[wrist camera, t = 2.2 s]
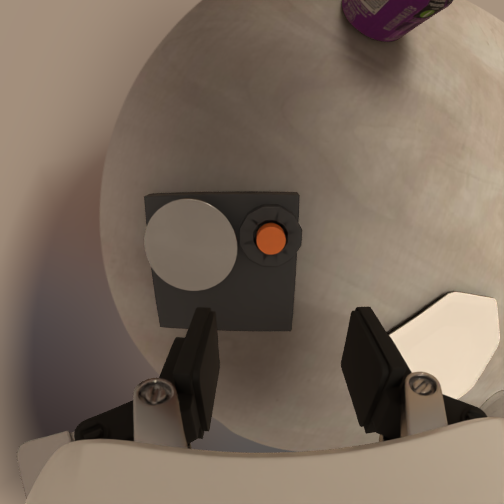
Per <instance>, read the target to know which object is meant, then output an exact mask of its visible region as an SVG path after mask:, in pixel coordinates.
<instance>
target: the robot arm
mask: <svg viewBox="0 0 504 504" xmlns="http://www.w3.org/2000/svg"><path fill="white" fill-rule="evenodd" d="M219 368H220V360H219V348H218V335H217V320H216V311H211V308H208V307H197V308H196V310H195V313H194V315H193V318H192V321H191V323H190V326H189V329H188V331H187V334H186V337H185V338H182V337H176V338H175V340H174V342H173V344H172V347H171V349H170V352H169V354H168V357H167V359H166V362H165V364H164V367H163V369H162V372H161V374H160V377H159V378H151V379H147V380H145V381H142V382H141V383H140V384H139V385H137V387H136V388H135V390H134V394H133V398H134V399H133V401H130V402H128V403H126V404H123V405H121V406H119V407H116V408H114V409H112V410H109V411H107V412H104V413H102V414H99V415H97V416H94V417H92V418H89V419H87V420H85V421H83V422H81V423H80V424H79V425H78V426H77V428H76V429H75V432H73V433H70V432H69V431H65V432H61V433H58V434H54V435H50V436H47V437H43V438H39V439H35V440H31V441H27V442H25V443H23V444H22V445H21V446H20V447H19V449H18V451H17V460H18V465H19V470H20V475H21V480H22V484H23V488H24V492H25V496H26V499H27V500H26V502H25V504H504V418H501V417H487V415H486V414H485V412H484V411H482V410H481V409H480V408H478V407H475V406H472V405H470V404H467V403H465V402H462V401H459V400H457V399H454V398H452V397H449V396H446V395H444V394H442V390H441V385H440V383H439V381H438V380H437V378H436V377H434V376H433V375H431V374H429V373H426V372H413V373H412V372H411V370H410V368H409V367H408V365H407V363H406V362H405V360H404V358H403V357H402V355H401V353H400V352H399V350H398V348H397V347H396V345H395V343H394V342H393V340H392V338H391V337H390V336H388V334H387V333H386V331H385V330H384V328H383V326H382V325H381V323H380V321H379V320H378V318H377V317H376V315H375V314H374V312H373V310H372V309H371V307H357V308H356V310H355V311H352V312H351V316H350V322H349V327H348V332H347V337H346V342H345V347H344V351H343V356H342V360H341V368H342V371H343V374H344V377H345V380H346V383H347V387H348V390H349V393H350V396H351V399H352V402H353V406H354V409H355V412H356V415H357V419H358V422H359V425H360V426H361V427H363V426H364V429H365V432H366V433H372V432H376V433H378V434H380V436H379V442H377V443H371V444H365V445H359V446H352V447H345V448H337V449H328V450H317V451H304V452H283V453H240V452H220V451H205V450H195V449H191V444H190V443H191V442H192V441H194V440H196V439H198V438H201V439H202V438H203V435H204V431H209V429H210V423H211V417H212V411H213V405H214V399H215V393H216V387H217V381H218V375H219Z"/></svg>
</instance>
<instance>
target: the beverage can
mask: <svg viewBox="0 0 504 504" xmlns="http://www.w3.org/2000/svg"><path fill="white" fill-rule="evenodd" d="M452 1H453V0H342V8H343V12H344V14H345V16H346V18H347V19H348V21H349V22H350V23H351V24H352V25H353V26H354V27H355V28H356V29H357V30H358V31H360V32H361V33H362V34H364V35H366V36H368V37H370V38H372V39H375V40H379V41H385V42H390V41H395V40H398V39H399V38H401V37H402V36H404V35H405V34H407V33H408V32H409V31H411V30H412V29H414V28H415V27H417V26H418V25H420V24H421V23H423V22H424V21H426V20H427V19H429V18H430V17H432V16H433V15H435V14H437V13H438V12H440V11H441V10H443V9H444V8H446V7H448V6H449V5H450V4H451V3H452Z"/></svg>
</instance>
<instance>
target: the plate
mask: <svg viewBox="0 0 504 504" xmlns="http://www.w3.org/2000/svg"><path fill="white" fill-rule="evenodd" d="M388 336H390V337H391V338H392V340H393V342H394V343H395V345H396V347H397V348H398V350H399V352H400V353H401V355H402V357H403V358H404V360H405V362H406V363H407V365H408V367H409V368H410V370H411V372H412V373H413V372H426V373H429V374H431V375H433V376H434V377H436V378H437V380H438V381H439V383H440V385H441V390H442V394H444V395H446V396H449V397H452V398H454V399H458V398H460V397H461V396H463V395H464V394H465V393H467V392H468V391H469V390H470V389H471V388H472V387H473V386H474V384H475V383H476V381H477V380H478V378H479V377H480V375H481V374H482V372H483V370H484V369H485V367H486V366H487V364H488V362H489V361H490V359H491V357H492V355H493V354H494V352H495V350H496V348H497V347H498V344H499V341H500V332H499V319H498V309H497V301H496V300H495V299H494V298H493V297H487V296H481V295H475V294H469V293H463V292H457V291H453V292H450V293H447V294H446V295H444V296H443V297H442V298H440V299H439V300H438V301H436V302H435V303H434V304H432V305H431V306H429V307H428V308H427V309H425V310H424V311H422V312H421V313H420V314H418V315H417V316H415V317H414V318H412V319H411V320H409V321H408V322H406V323H405V324H403V325H402V326H400V327H399V328H397V329H396V330H394V331H393V332H391V333H390V334H389V335H388Z"/></svg>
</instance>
